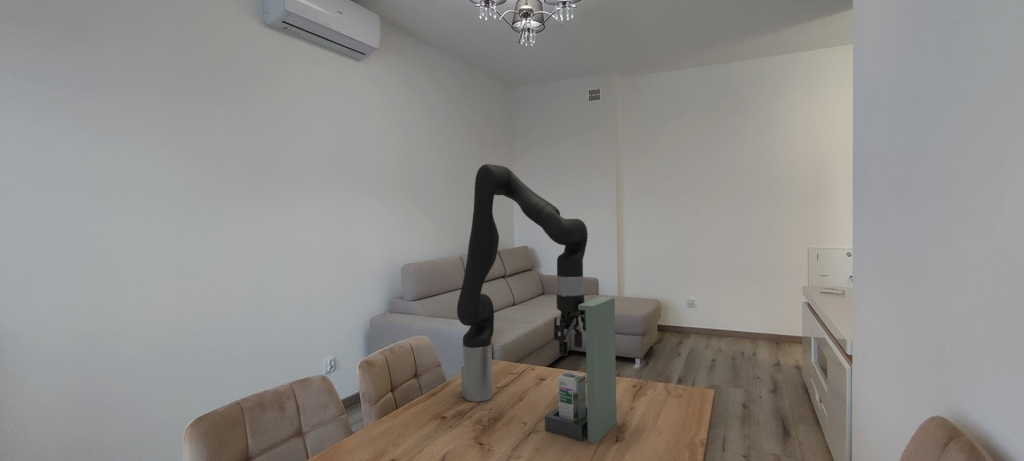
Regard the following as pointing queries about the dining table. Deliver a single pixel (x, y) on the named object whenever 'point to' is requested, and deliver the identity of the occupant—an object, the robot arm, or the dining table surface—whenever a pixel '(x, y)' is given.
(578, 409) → the syrup box
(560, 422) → the socket
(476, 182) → the robot arm
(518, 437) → the dining table surface
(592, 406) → the long narrow green plank
